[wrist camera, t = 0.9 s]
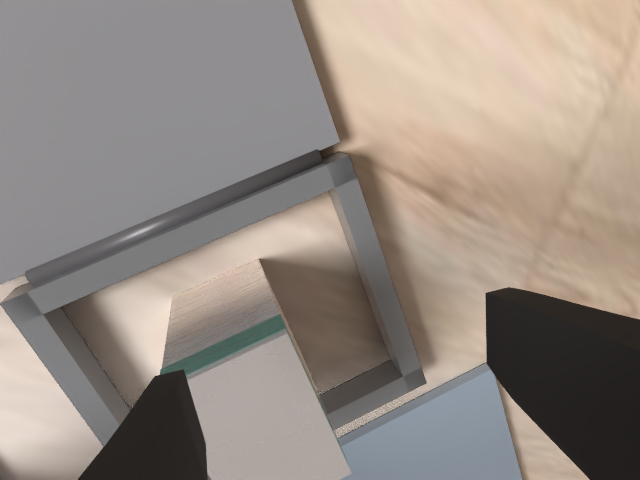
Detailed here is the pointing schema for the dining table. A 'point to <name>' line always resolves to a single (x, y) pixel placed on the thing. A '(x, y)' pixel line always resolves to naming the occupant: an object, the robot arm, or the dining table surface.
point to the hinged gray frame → (164, 167)
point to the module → (250, 382)
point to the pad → (438, 436)
